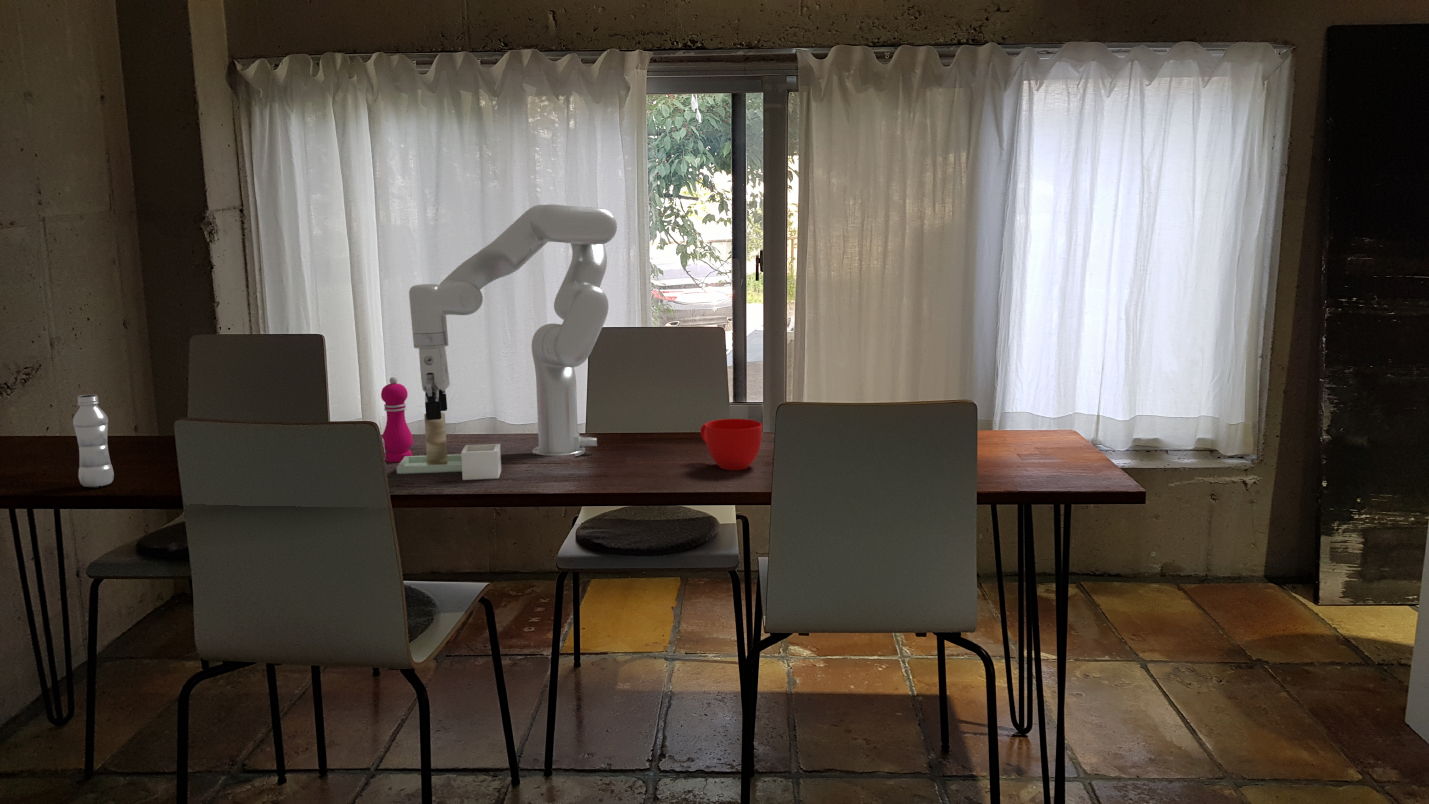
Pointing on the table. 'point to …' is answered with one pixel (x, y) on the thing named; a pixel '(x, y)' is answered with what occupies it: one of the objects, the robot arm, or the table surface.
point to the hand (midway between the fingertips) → (437, 415)
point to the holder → (481, 461)
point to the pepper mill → (396, 422)
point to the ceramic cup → (733, 442)
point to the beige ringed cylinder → (436, 441)
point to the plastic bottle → (92, 443)
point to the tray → (420, 465)
